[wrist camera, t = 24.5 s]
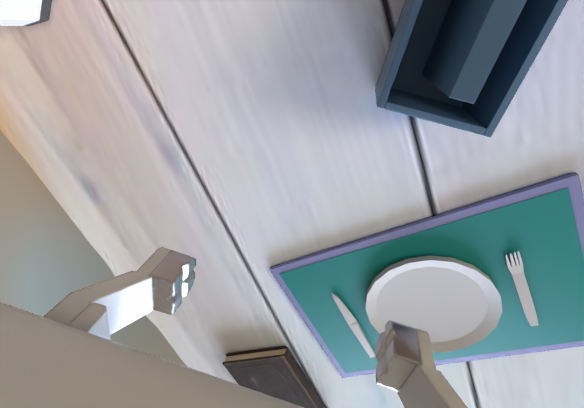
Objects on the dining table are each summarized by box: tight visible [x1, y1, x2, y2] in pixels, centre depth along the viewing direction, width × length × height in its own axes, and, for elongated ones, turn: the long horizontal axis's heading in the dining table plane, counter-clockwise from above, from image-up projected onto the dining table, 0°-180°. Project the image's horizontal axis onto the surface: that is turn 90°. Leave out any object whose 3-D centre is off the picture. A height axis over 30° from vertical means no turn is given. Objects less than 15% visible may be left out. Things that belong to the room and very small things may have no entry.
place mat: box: [270, 172, 584, 378], centre depth 52 cm, size 45×30×2 cm
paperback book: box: [223, 346, 326, 408], centre depth 72 cm, size 16×23×2 cm
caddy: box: [375, 0, 568, 137], centre depth 29 cm, size 14×11×15 cm
